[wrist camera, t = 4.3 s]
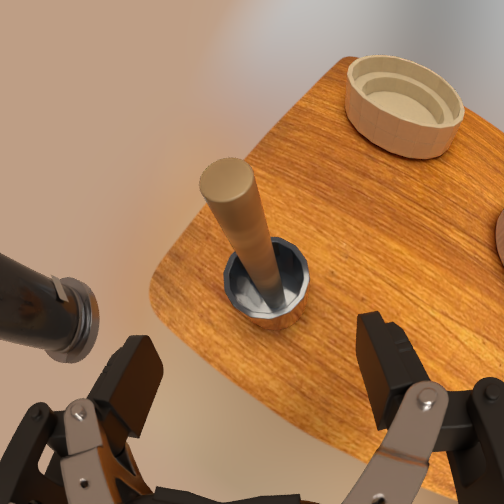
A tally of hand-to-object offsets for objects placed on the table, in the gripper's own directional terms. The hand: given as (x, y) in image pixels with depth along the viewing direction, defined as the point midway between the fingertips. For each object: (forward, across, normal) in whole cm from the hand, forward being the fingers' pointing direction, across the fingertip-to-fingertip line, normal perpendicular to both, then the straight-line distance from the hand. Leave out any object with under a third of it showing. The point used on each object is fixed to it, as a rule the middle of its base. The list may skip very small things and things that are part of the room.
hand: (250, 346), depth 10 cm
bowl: (+28, -20, -8) cm, 35 cm away
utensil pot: (+13, 0, +6) cm, 15 cm away
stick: (+13, 0, +6) cm, 14 cm away
